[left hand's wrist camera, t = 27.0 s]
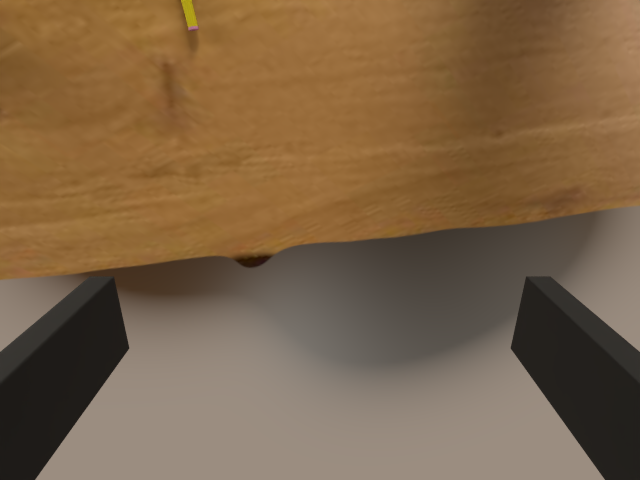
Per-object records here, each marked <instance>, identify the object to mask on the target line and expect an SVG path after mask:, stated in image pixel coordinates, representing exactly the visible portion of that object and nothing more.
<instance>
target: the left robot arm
mask: <svg viewBox="0 0 640 480" xmlns="http://www.w3.org/2000/svg"><path fill="white" fill-rule="evenodd" d="M128 349H129V345H128V340H127V336H126V331H125V326H124V322H123V317H122V312H121V308H120V303H119V298H118V294H117V289H116V285H115V280H114V277H89V278H88V279H86V280H85V281H84V282H83V283H82V284H80V285H79V286H78V287H77V288H76V289H74V290H73V291H72V292H71V293H70V294H69V295H67V296H66V297H65V298H64V299H63V300H61V301H60V302H59V303H58V304H57V305H55V306H54V307H53V308H52V309H51V310H50V311H48V312H47V313H46V314H45V315H44V316H42V317H41V318H40V319H39V320H38V321H37V322H35V323H34V324H33V325H32V326H31V327H29V328H28V329H27V330H26V331H25V332H23V333H22V334H21V335H20V336H19V337H18V338H16V339H15V340H14V341H13V342H12V343H10V344H9V345H8V346H7V347H6V348H4V349H3V350H2V351H1V352H0V480H35V479H36V478H37V476H38V475H39V473H40V472H41V471H42V469H43V468H44V466H45V465H46V464H47V462H48V461H49V459H50V458H51V457H52V455H53V454H54V452H55V451H56V450H57V448H58V447H59V446H60V444H61V443H62V441H63V440H64V439H65V437H66V436H67V434H68V433H69V432H70V430H71V429H72V427H73V426H74V425H75V423H76V422H77V420H78V419H79V418H80V416H81V415H82V413H83V412H84V411H85V409H86V408H87V407H88V405H89V404H90V402H91V401H92V400H93V398H94V397H95V395H96V394H97V393H98V391H99V390H100V388H101V387H102V386H103V384H104V383H105V381H106V380H107V379H108V377H109V376H110V374H111V373H112V372H113V370H114V369H115V367H116V366H117V365H118V363H119V362H120V360H121V359H122V358H123V356H124V355H125V354H126V352H127V351H128ZM511 349H512V351H513V352H514V353H515V355H516V356H517V358H518V359H519V361H520V362H521V363H522V365H523V366H524V367H525V369H526V370H527V372H528V373H529V374H530V376H531V377H532V379H533V380H534V381H535V383H536V384H537V386H538V387H539V388H540V390H541V391H542V393H543V394H544V395H545V397H546V398H547V400H548V401H549V402H550V404H551V405H552V406H553V408H554V409H555V411H556V412H557V413H558V415H559V416H560V418H561V419H562V420H563V422H564V423H565V425H566V426H567V427H568V429H569V430H570V431H571V433H572V434H573V436H574V437H575V439H576V440H577V441H578V443H579V444H580V446H581V447H582V448H583V450H584V451H585V452H586V454H587V455H588V457H589V458H590V459H591V461H592V462H593V464H594V465H595V466H596V468H597V469H598V471H599V472H600V473H601V475H602V476H603V477H604V479H605V480H640V352H639V351H638V350H637V349H635V348H634V347H633V346H632V345H631V344H630V343H628V342H627V341H626V340H625V339H624V338H622V337H621V336H620V335H619V334H618V333H616V332H615V331H614V330H613V329H612V328H611V327H609V326H608V325H607V324H606V323H605V322H604V321H602V320H601V319H600V318H599V317H598V316H596V315H595V314H594V313H593V312H592V311H590V310H589V309H588V308H587V307H586V306H585V305H583V304H582V303H581V302H580V301H579V300H577V299H576V298H575V297H574V296H573V295H571V294H570V293H569V292H568V291H567V290H566V289H564V288H563V287H562V286H561V285H560V284H558V283H557V282H556V281H555V280H554V279H552V278H551V277H526V280H525V285H524V289H523V294H522V298H521V303H520V308H519V312H518V317H517V322H516V326H515V331H514V335H513V340H512V345H511Z"/></svg>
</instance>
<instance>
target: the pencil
mask: <svg viewBox="0 0 640 480" xmlns="http://www.w3.org/2000/svg"><path fill="white" fill-rule="evenodd" d="M181 2H182V5H183V9H184V13H185V17H186V21H187V25H188V29H189V31H194V30H198V29H199V28H198V24H197V20H196V16H195V12H194V8H193V4H192V0H181Z"/></svg>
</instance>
